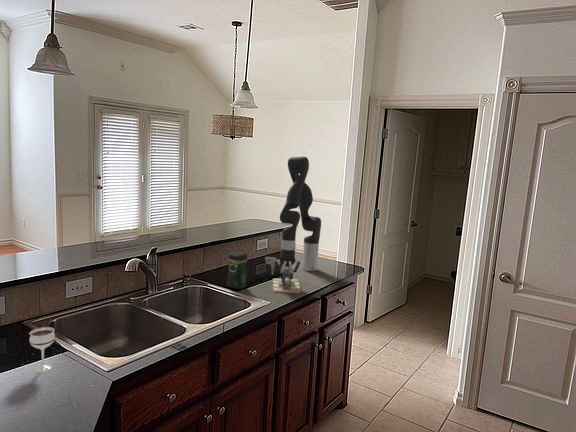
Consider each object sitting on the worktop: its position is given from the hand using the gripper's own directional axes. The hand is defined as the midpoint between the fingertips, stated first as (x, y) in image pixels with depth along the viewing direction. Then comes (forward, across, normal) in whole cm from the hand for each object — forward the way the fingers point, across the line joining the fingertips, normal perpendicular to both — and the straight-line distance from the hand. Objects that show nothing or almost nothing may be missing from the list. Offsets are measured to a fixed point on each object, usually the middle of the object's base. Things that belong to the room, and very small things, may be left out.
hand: (286, 279), depth 222 cm
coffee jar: (+4, +26, +4) cm, 27 cm away
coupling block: (+1, 0, 0) cm, 1 cm away
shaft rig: (+4, 0, 0) cm, 4 cm away
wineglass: (+4, +79, +91) cm, 121 cm away
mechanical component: (+4, +7, -21) cm, 23 cm away
